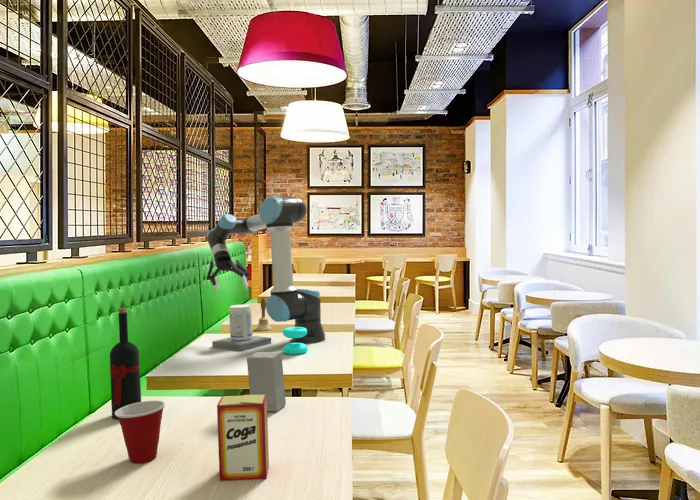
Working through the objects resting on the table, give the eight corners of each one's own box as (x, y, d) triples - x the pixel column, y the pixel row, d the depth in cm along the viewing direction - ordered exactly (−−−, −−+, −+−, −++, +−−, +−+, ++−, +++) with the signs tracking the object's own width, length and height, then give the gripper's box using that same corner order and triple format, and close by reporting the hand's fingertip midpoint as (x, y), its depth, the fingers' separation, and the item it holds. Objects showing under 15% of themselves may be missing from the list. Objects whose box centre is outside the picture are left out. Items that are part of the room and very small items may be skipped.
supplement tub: (245, 336, 270) (244, 303, 269) (256, 338, 263) (255, 305, 262) (226, 339, 264) (225, 306, 263) (236, 342, 256) (235, 307, 256)
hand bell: (263, 327, 309) (262, 296, 308) (275, 328, 304) (274, 297, 303) (251, 330, 302) (250, 298, 301) (263, 331, 297) (262, 299, 296)
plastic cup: (124, 451, 140) (122, 400, 140) (171, 448, 141) (169, 398, 141) (109, 469, 129) (107, 414, 129) (161, 466, 130) (158, 412, 130)
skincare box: (286, 406, 172) (284, 351, 171) (275, 413, 165) (273, 356, 165) (259, 404, 175) (258, 350, 174) (247, 411, 168) (246, 355, 167)
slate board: (271, 343, 266) (271, 337, 266) (242, 351, 251) (242, 344, 251) (241, 339, 276) (241, 334, 276) (212, 347, 261) (212, 340, 261)
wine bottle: (102, 422, 161) (97, 312, 160) (119, 411, 171) (115, 306, 170) (131, 422, 161) (126, 311, 159) (146, 410, 171) (142, 306, 170)
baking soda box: (219, 481, 122) (217, 403, 121) (224, 468, 129) (222, 394, 128) (266, 478, 123) (264, 401, 122) (268, 466, 129) (266, 392, 129)
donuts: (311, 326, 247) (300, 330, 238) (311, 350, 248) (300, 355, 239) (289, 325, 251) (278, 329, 242) (290, 349, 252) (278, 354, 242)
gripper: (244, 259, 294) (257, 291, 281) (194, 262, 282) (204, 296, 269) (247, 248, 289) (260, 280, 276) (196, 251, 277) (207, 285, 264)
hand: (232, 288), depth 273 cm, fingers open, 13 cm apart
